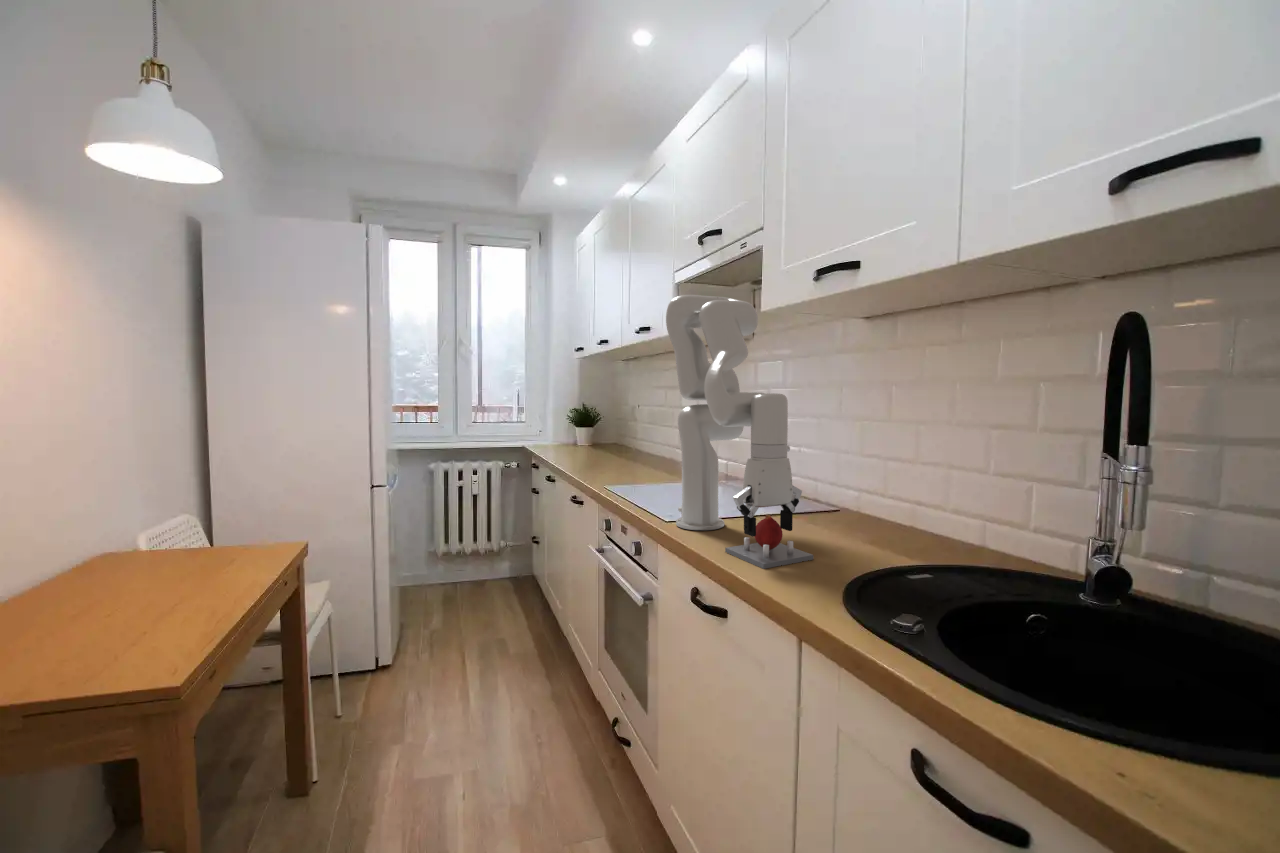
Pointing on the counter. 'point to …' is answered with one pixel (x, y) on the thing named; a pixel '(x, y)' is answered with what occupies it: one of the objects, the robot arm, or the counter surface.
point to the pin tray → (768, 554)
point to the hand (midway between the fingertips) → (768, 532)
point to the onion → (768, 532)
